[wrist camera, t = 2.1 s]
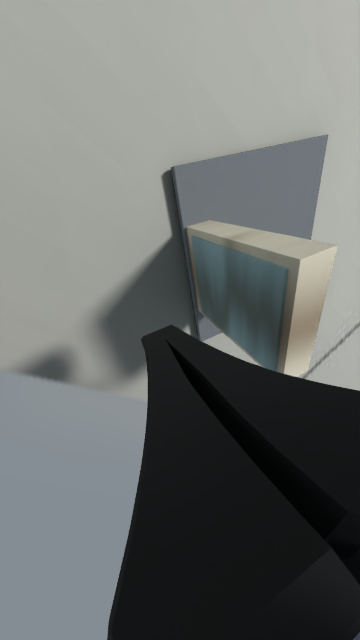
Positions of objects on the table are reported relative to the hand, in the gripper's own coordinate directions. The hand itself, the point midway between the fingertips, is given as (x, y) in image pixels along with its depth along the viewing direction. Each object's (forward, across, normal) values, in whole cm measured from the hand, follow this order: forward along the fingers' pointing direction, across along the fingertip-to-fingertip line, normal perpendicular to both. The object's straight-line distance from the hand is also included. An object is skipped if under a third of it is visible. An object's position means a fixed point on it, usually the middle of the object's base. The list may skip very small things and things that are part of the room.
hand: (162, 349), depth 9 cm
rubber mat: (+6, -10, 0) cm, 12 cm away
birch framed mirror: (+6, -5, 0) cm, 8 cm away
